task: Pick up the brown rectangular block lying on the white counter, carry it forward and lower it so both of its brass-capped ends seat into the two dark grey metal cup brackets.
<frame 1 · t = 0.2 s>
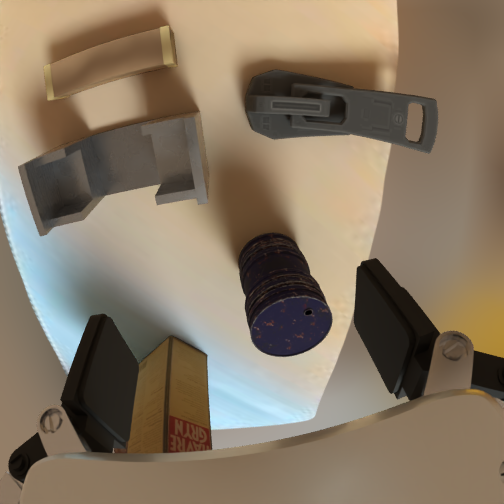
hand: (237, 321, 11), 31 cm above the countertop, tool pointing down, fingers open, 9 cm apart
brown rectangular block: (114, 64, 29), on the countertop
food packaging: (170, 360, 55), on the countertop
zipper pull: (337, 108, 36), on the countertop
cup brackets: (129, 157, 35), on the countertop
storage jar: (269, 260, 46), on the countertop
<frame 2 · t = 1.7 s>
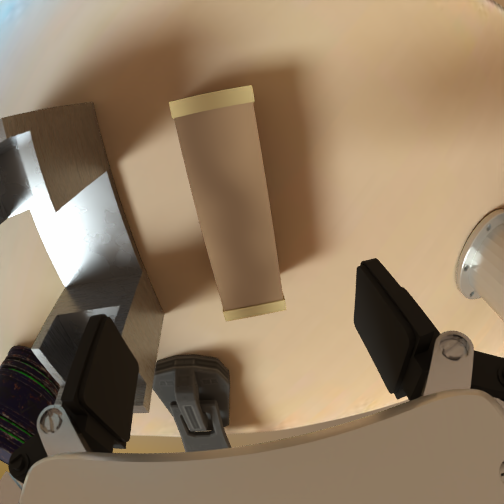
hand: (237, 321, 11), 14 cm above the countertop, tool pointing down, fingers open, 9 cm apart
brown rectangular block: (232, 196, 23), on the countertop
zipper pull: (203, 409, 37), on the countertop
cup brackets: (84, 232, 23), on the countertop
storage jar: (36, 368, 31), on the countertop
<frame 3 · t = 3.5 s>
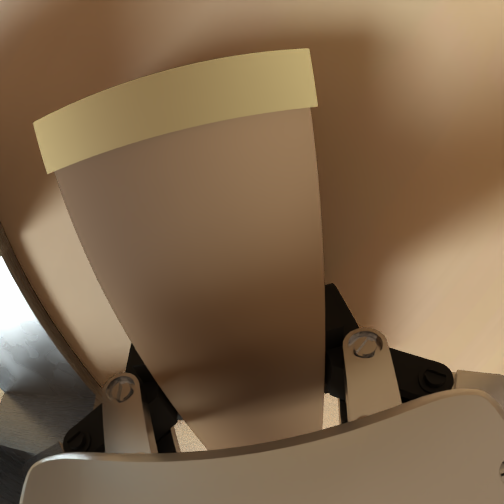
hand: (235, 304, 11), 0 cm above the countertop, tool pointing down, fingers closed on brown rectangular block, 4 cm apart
brown rectangular block: (234, 297, 12), on the countertop, touching gripper
cup brackets: (4, 333, 11), on the countertop
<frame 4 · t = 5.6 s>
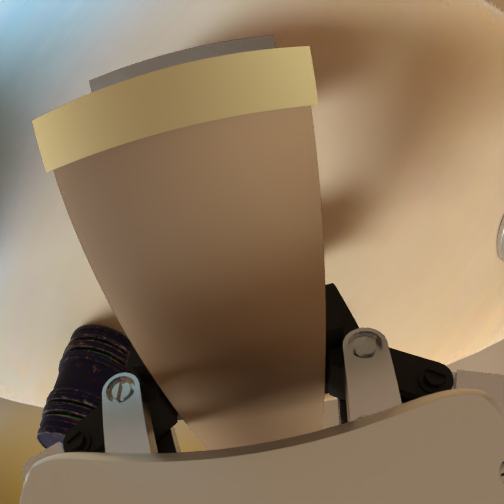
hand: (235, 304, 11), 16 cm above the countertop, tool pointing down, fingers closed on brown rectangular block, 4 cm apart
brown rectangular block: (234, 297, 12), point 15 cm above the countertop, touching gripper
cup brackets: (218, 186, 25), on the countertop
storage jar: (105, 350, 33), on the countertop
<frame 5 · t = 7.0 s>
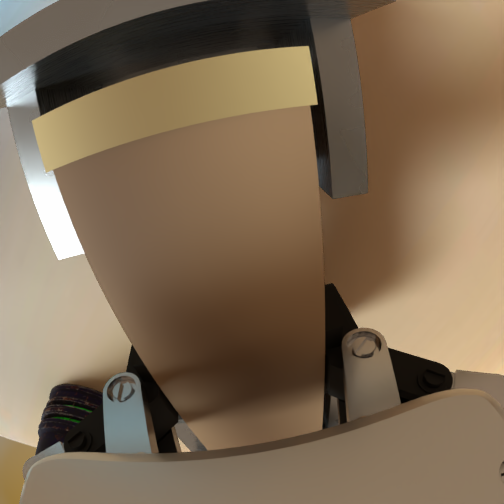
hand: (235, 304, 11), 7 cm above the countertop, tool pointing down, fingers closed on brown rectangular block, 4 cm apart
brown rectangular block: (234, 297, 12), point 6 cm above the countertop, touching gripper
cup brackets: (224, 230, 17), on the countertop
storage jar: (90, 408, 25), on the countertop
when the fingers open (7 cm above the countertop, at t = 7.2 s): brown rectangular block drops 1 cm, resting on cup brackets.
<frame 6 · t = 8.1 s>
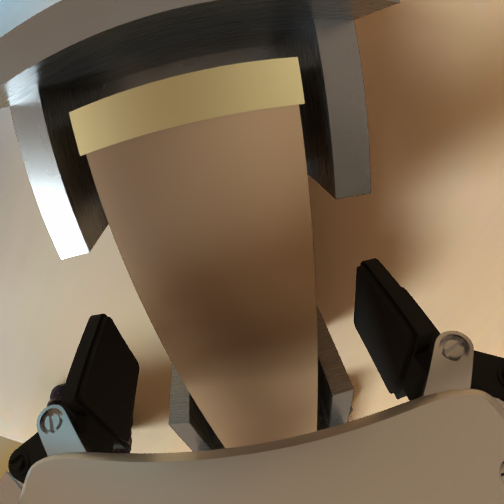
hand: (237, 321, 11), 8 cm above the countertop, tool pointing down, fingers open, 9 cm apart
brown rectangular block: (235, 279, 13), point 5 cm above the countertop, touching cup brackets
cup brackets: (226, 230, 17), on the countertop
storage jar: (91, 408, 26), on the countertop
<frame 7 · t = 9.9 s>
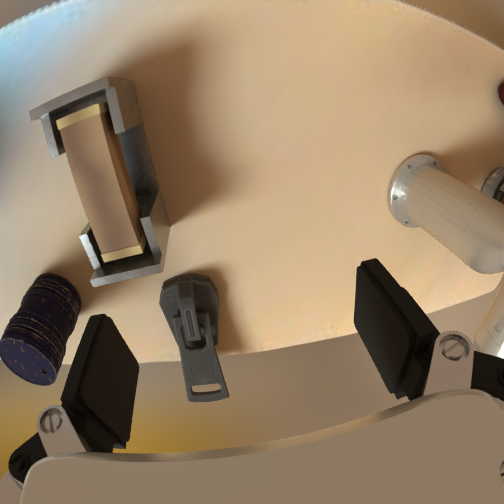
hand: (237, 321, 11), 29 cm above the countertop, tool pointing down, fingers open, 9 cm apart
brown rectangular block: (110, 175, 30), point 5 cm above the countertop, touching cup brackets
zipper pull: (197, 332, 50), on the countertop
supplement tub: (494, 198, 47), on the countertop
cup brackets: (119, 165, 34), on the countertop
potato: (503, 94, 36), on the countertop
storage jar: (56, 296, 42), on the countertop
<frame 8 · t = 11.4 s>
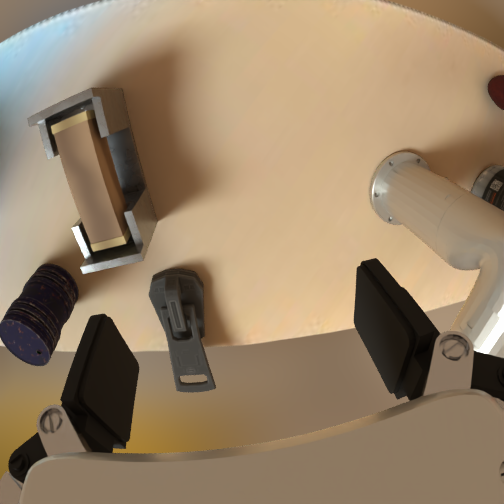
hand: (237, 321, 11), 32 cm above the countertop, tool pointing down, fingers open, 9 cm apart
brown rectangular block: (100, 174, 33), point 5 cm above the countertop, touching cup brackets
zipper pull: (185, 325, 53), on the countertop
supplement tub: (487, 197, 48), on the countertop
cup brackets: (111, 165, 37), on the countertop
potato: (494, 91, 36), on the countertop
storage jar: (56, 285, 45), on the countertop
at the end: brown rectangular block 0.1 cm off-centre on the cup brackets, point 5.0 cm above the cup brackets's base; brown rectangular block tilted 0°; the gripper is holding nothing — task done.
